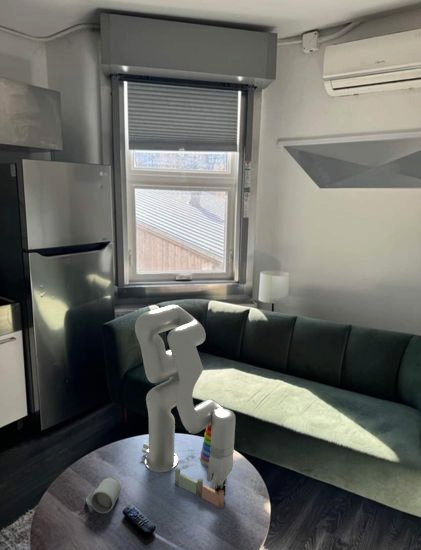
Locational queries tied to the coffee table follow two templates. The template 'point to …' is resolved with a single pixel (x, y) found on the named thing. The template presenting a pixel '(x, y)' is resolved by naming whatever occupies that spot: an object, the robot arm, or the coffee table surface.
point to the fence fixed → (185, 481)
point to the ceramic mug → (104, 495)
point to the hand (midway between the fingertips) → (219, 495)
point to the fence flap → (210, 494)
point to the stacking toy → (206, 446)
